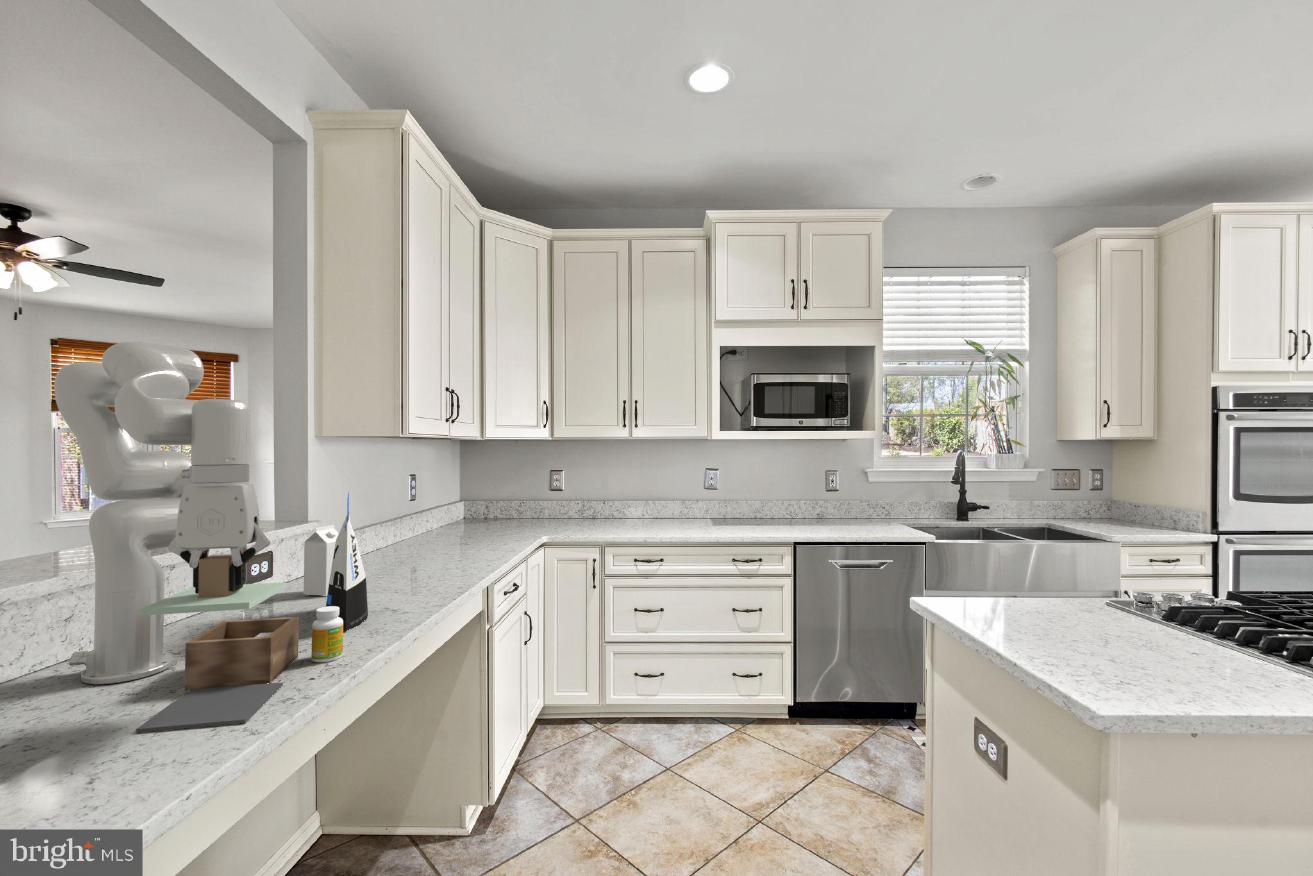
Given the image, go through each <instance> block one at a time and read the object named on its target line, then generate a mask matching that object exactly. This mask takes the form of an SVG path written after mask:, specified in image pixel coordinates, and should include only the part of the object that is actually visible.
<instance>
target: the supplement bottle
mask: <svg viewBox="0 0 1313 876" xmlns="http://www.w3.org/2000/svg"><path fill="white" fill-rule="evenodd" d="M338 615H339V607H337V606H328V607H326V606H323V607H319V608H317V609H316V612H315V617H316V620H314V621H313V623H312V625H311V655H310V657H311V661H312V662H314V663H326V662H327V663H329V662H333V661H336V660H338V659H340V658H342V656H343V653H344V651H343V649H344V631H343V620H342V619H341V618H340V617H338Z"/></svg>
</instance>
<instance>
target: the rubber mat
mask: <svg viewBox="0 0 1313 876" xmlns="http://www.w3.org/2000/svg"><path fill="white" fill-rule="evenodd" d="M283 683H284V682H273V683H272V682H271V683H269V684H256V685H243V686H230V687H217V688H204V689H190V690H186V692H185V693H183V694H182V695H181V696H179V697H178V698H176V699H175V700H173V701H172V702H170V704H168V705H167V706H165V707H164V708H163V709H162V710H160V711H158V712H157V713H156V714H155V715H153V716H152V717H150V718H149V719H148V720H147V721H145V722H144V723H142V724H141V725H140V726H138V727H137V728H135V733H136V734H142V732H144V733H152V732H151V731H155V732H164V730H166V731H172V730H171V729H177V730H185V729H184V728H188V729H199V728H207V727H206V726H211V727H220V725H222V726H230V725H229V724H233V725H242V723H244V724H247V722H249V720H251V718H252V717H254V715H256V713H257V712H258V711H259V710H260V709H262V707H263V706H264V705H265V704H266V703H267V702H268V701H269V700H270V699H271V698H273V696H274V695H275V694H276V693H278V691H280V689H281V688H282V687H283V686H284V684H283ZM281 686H282V687H281ZM279 688H280V689H279ZM277 690H278V691H277ZM272 695H273V696H272ZM270 697H271V698H270ZM268 699H269V700H268ZM266 701H267V702H266ZM263 704H264V705H263ZM240 723H241V724H240ZM227 724H228V725H227ZM162 730H163V731H162ZM149 731H150V732H149Z"/></svg>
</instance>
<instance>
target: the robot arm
mask: <svg viewBox="0 0 1313 876" xmlns="http://www.w3.org/2000/svg"><path fill="white" fill-rule="evenodd" d="M204 369H205V368H204V364H203V362H202V360H201V358H200V356H199V355H197V354H196V353H195V352H194V351H192V350H190V349H188V348H184V347H179V346H171V345H163V344H156V343H148V342H140V341H124V342H123V341H122V342H118V343H115V344H113V345H111V346H109V347H108V348H107V349H106V350H105V351H104V353H103V355H102V357H101V362H97V361H96V362H92V361H88V362H86V361H85V362H83V361H82V362H74V363H71V364H70V363H69V364H66V365H65V366H63V367H61V368H60V369H59V370H58V372H57V373H56V375H55V379H54V382H53V383H54V384H53V385H54V386H53V387H54V388H53V389H54V390H53V391H54V399H55V402H56V403H55V404H56V405H57V409H58V411H59V414H60V415H61V417H62V418H63V420H64V422H65V423H66V425H67V426H68V428H69V429H70V431H71V432H72V433H73V436H74V437H75V439H76V440H77V443H78V446H79V452H80V455H81V458H82V464H83V467H84V472H85V474H86V478H87V481H88V485H89V488H90V490H91V491H92V493H93V494H94V496H95V497H96V498H99V499H101V500H106V501H113V502H109V503H106V504H104V505H101V506H99V507H98V508H96V509H95V510H94V511H93V513H91V515H90V517H89V522H88V530H89V537H90V542H91V547H92V550H93V551H92V552H93V559H94V573H95V574H94V580H95V581H94V591H95V592H94V625H93V626H94V628H93V629H94V631H93V632H94V633H93V634H94V636H93V639H94V640H93V650H89V651H88V650H80V651H78V650H77V651H73V653H71V656H70V659H69V661H68V664H69V666H81V665H84V666H85V669H84V671H82V672H81V674H80V680H81V682H82V683H85V684H89V685H106V684H107V685H109V684H118V683H123V682H129V681H133V680H138V679H142V678H143V679H144V678H146V677H149V676H153V675H155V674H158V673H160V672H163V671H165V670H167V669H169V668H170V667H172V665H174V659H175V658H174V656H173V655H171V654H169V653H164V632H165V631H164V628H165V625H164V624H165V623H164V622H165V621H164V620H165V614H160V615H143V616H140V609H141V608H143V607H146V606H148V605H151V604H153V603H156V602H158V601H160V600H163V599H165V586H166V585H165V572H164V569H163V567H162V566H161V564H160V563H159V562H158V561H157V560H156V559H154V557H152V556H151V554H150V553H149V551H151V550H157V549H164V548H165V549H166V548H167V550H168V551H169V552H171V553H173V554H174V555H176V556H179V557H180V558H181V559H182V560H183V561H185V562H186V563H187V564H188V566H189V568H190V569H192V587H195V593H196V594H199V559H202V558H205V557H208V556H210V550H211V549H212V550H215V549H229V550H230V554H231V555H232V560H233V566H231V567H230V578H229V590H230V591H231V592H235V591H237V590H239V589H241V588H242V587H243V584H246V581H247V580H246V579H247V577H246V576H247V575H246V574H247V573H246V572H247V569H246V568H247V563H249V561H250V560H251V559H252V558H253V557H255V555H257V554H258V553H259V552H261V551H262V550H264V549H266V548H267V547H269V546H270V544H271V542H270V540H269V538H268V537H267V536H266V535H265V533H264V531H263V530H262V529H261V528H260V527H261V526H260V524H261V523H260V512H259V504H258V499H257V498H258V497H257V493H256V489H255V485H254V484H253V483H250V446H251V445H250V440H251V439H250V437H251V435H250V433H251V432H250V430H251V429H250V427H251V425H250V423H251V422H250V421H251V418H250V417H251V414H250V412H251V411H250V406H248V404H247V403H246V402H244V401H241V400H235V399H226V398H225V399H223V398H221V399H220V398H206V399H200V400H191V399H190V400H189V399H186V398H187V397H188V396H189V395H190V394H191V393H193V392H195V390H197V388H199V386H200V385H201V383H202V381H203V379H204V374H205V370H204ZM110 408H114V411H112V410H111V409H110ZM141 444H144V445H147V446H148V445H149V446H190V449H191V450H190V457H189V455H186V454H185V453H183V452H179V451H176V450H175V451H173V450H147V449H145V448H143V447H142V446H141ZM253 543H254V544H253ZM249 544H253V545H252V546H251V547H249V548H248V545H249Z"/></svg>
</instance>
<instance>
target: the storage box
mask: <svg viewBox="0 0 1313 876" xmlns="http://www.w3.org/2000/svg"><path fill="white" fill-rule="evenodd" d="M299 618H300V617H299V616H291V617H290V616H288V617H275V618H274V617H271V618H253V619H252V618H251V619H250V618H249V619H232V620H223V621H221V622H219V623H218V624H216V625H215V626H212V627H210V628H209V629H207V630H205V631H204V632H202V633H201V634H199V635H197V636H196V637H193V638H192V639H190V640H189V641H187V642H185V652H184V653H185V658H184V659H185V660H184V661H185V662H184V668H185V669H184V691H189V690H190V689H204V688H217V687H230V686H243V685H256V684H267V683H272V681H273V680H274V679H275V680H276V679H277V678H279V676H280V675H282V673H283V672H284V671H285V670H287V668H289V667H290V666H291V663H292V662H293V661H294V662H295V661H296V660H298V658H299V626H300V625H299V621H300V619H299ZM294 662H293V663H294ZM293 663H292V664H293ZM275 680H274V681H275ZM274 681H273V682H274Z"/></svg>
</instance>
